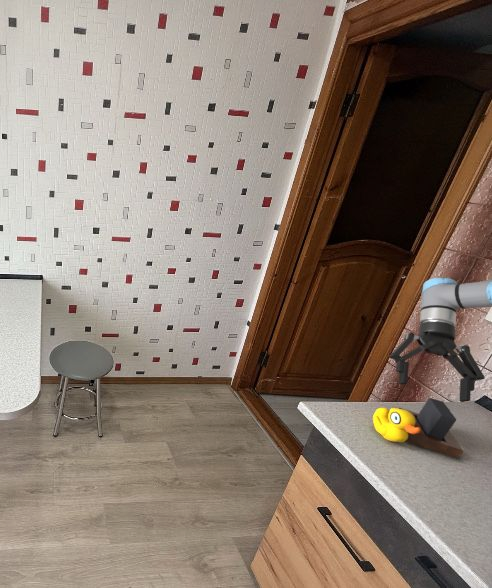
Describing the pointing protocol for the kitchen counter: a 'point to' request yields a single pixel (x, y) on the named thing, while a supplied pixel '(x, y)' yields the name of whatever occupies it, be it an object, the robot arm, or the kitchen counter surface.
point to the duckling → (394, 424)
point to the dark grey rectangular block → (435, 419)
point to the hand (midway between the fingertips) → (432, 392)
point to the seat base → (435, 441)
